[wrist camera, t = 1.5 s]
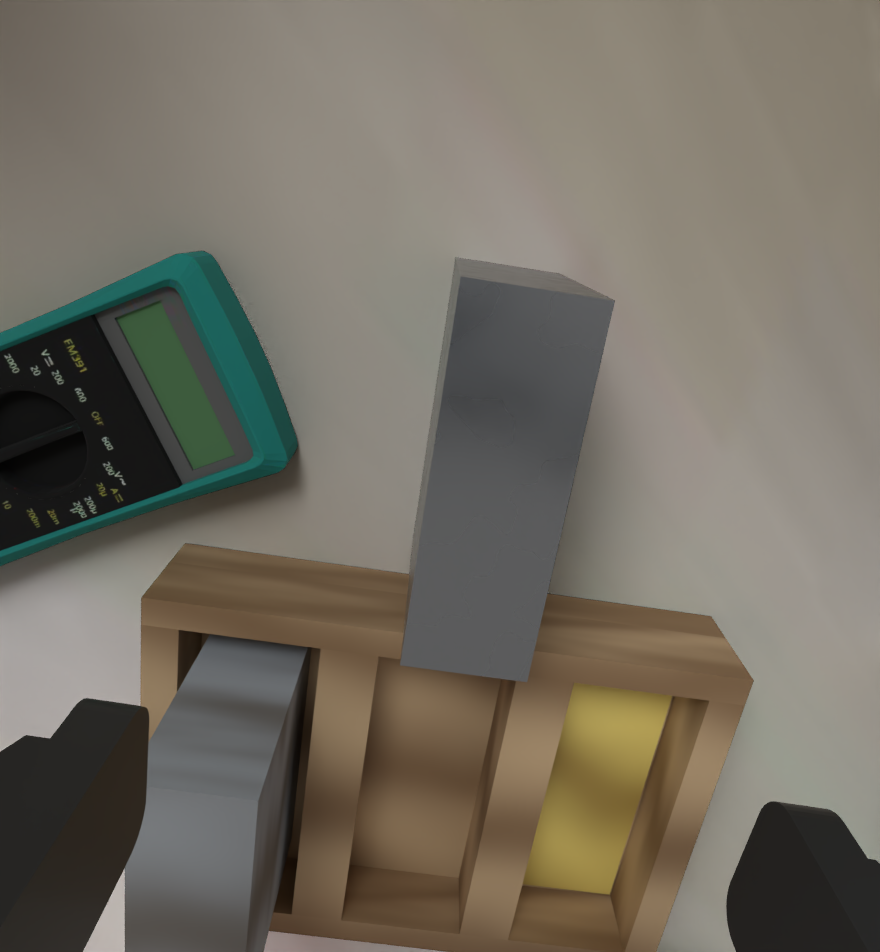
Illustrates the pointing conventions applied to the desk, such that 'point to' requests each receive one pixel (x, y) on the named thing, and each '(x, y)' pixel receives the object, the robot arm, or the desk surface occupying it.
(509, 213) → the desk surface
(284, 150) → the desk surface
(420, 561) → the rectangular block
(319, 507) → the desk surface
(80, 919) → the robot arm
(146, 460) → the digital multimeter
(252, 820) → the rack
